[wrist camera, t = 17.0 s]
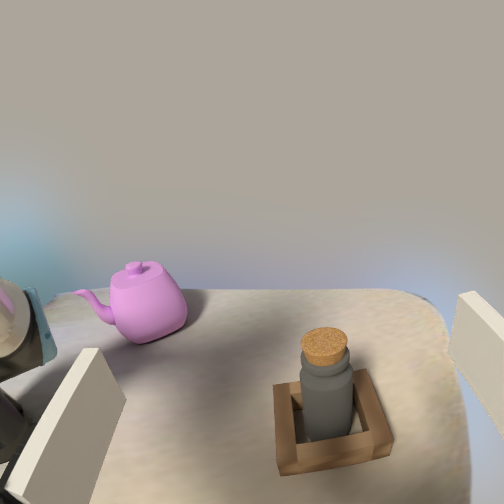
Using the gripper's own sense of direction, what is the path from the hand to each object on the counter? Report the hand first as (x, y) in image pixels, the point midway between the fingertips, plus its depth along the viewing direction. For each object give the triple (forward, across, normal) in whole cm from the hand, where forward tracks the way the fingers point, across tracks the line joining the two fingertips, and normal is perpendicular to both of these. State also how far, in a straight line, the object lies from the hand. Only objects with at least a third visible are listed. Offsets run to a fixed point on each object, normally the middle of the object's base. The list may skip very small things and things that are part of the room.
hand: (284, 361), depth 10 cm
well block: (+17, +4, -28) cm, 33 cm away
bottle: (+17, +4, -28) cm, 33 cm away
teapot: (+49, -28, -29) cm, 64 cm away
